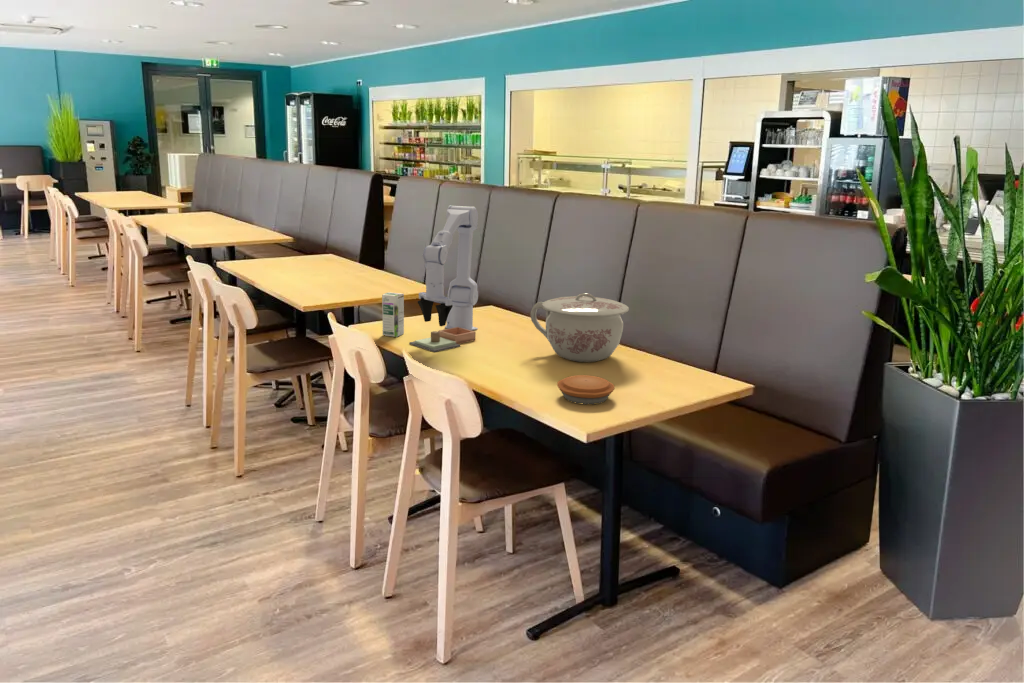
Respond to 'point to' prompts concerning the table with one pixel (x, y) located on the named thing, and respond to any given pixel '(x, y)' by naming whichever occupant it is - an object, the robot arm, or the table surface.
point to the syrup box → (393, 314)
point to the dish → (458, 334)
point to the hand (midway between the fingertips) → (434, 323)
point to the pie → (585, 389)
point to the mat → (435, 348)
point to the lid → (435, 341)
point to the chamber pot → (582, 326)
